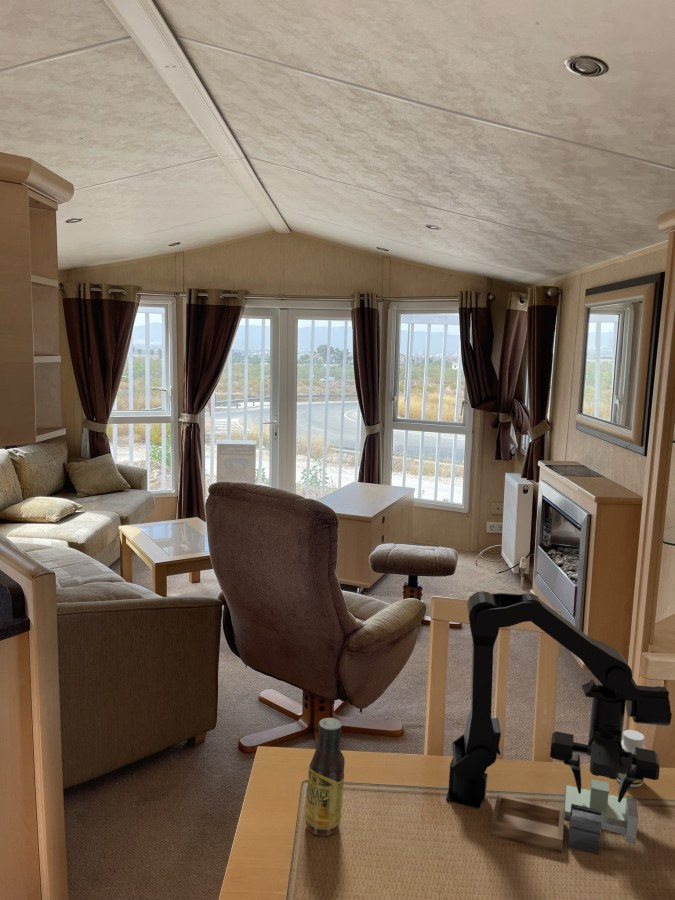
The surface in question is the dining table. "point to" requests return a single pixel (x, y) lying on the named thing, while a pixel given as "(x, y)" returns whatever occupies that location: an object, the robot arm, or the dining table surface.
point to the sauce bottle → (326, 781)
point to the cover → (596, 800)
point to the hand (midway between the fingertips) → (599, 796)
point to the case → (528, 823)
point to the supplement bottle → (632, 748)
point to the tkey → (617, 825)
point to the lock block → (584, 831)
